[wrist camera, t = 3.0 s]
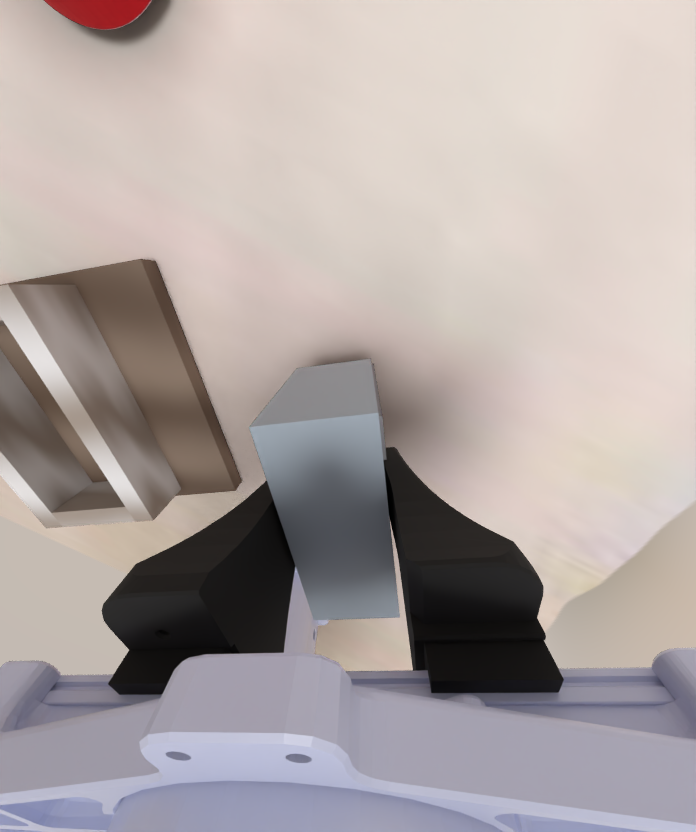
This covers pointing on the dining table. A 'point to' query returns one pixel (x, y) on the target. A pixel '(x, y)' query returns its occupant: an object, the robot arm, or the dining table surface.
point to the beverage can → (100, 11)
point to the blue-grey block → (332, 487)
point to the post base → (103, 399)
